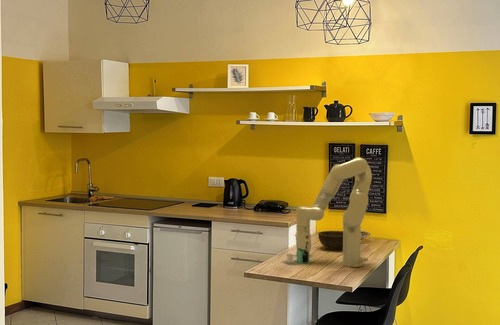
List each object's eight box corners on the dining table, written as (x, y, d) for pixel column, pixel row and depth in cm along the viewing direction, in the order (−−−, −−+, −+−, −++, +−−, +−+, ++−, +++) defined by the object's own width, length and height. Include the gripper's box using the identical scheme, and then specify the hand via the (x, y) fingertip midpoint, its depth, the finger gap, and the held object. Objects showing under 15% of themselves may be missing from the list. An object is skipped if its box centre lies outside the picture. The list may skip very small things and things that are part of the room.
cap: (305, 260, 330) (305, 249, 330) (309, 262, 325) (309, 250, 325) (296, 261, 328) (296, 249, 328) (300, 263, 324) (300, 251, 323)
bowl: (352, 246, 380) (352, 231, 379) (352, 253, 358) (352, 236, 358) (319, 245, 384) (319, 230, 383) (317, 251, 362) (317, 235, 362)
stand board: (303, 261, 333) (303, 259, 333) (311, 265, 323) (311, 263, 323) (281, 263, 328) (281, 261, 328) (288, 267, 318) (288, 265, 318)
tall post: (291, 262, 326) (291, 253, 325) (293, 263, 323) (293, 254, 323) (286, 262, 325) (286, 253, 324) (288, 263, 322) (288, 254, 322)
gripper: (316, 230, 320) (316, 263, 320) (302, 226, 335) (302, 257, 336) (304, 231, 317) (303, 264, 318) (290, 226, 333) (290, 258, 333)
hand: (302, 260), depth 327 cm, fingers closed on cap, 5 cm apart
